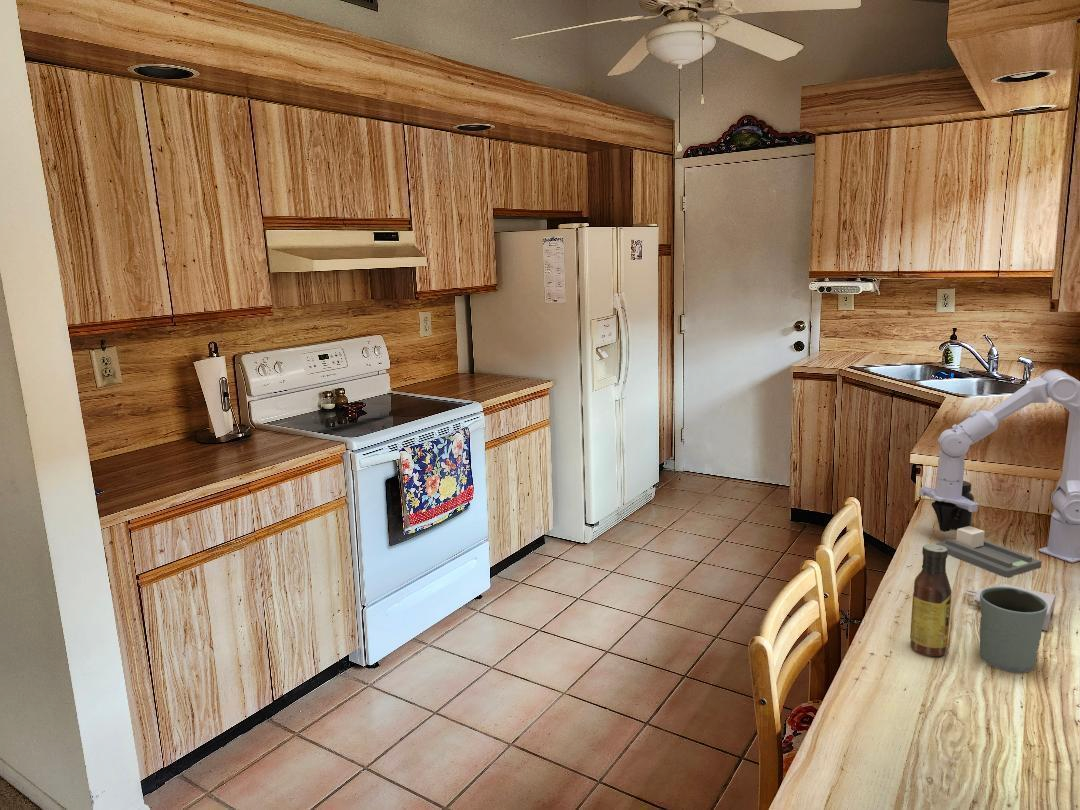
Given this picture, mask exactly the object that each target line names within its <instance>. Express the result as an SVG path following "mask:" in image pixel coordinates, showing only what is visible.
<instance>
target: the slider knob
mask: <svg viewBox="0 0 1080 810" xmlns="http://www.w3.org/2000/svg"><path fill="white" fill-rule="evenodd" d="M985 534H986V531H985V530H982V529H980V528H976V527H974V526H972V525H971V526H967V527H963V528H959V529H957V530H956V537H955V538H956V542H959V543H961V544H964V545H967V546H969V547H972V548H976V547H980V546H983V545H984V540H985Z"/></svg>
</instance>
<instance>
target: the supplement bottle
mask: <svg viewBox="0 0 1080 810" xmlns="http://www.w3.org/2000/svg"><path fill="white" fill-rule="evenodd" d="M971 491H972V483H971V482H969V481H966V480H963V486H962V495H961V496H963V497H965V498H967V499H969V500H971V501H973V502H975V496H974V494H973V493H971ZM973 514H974V512H969V511H968V510H967V509H964V508H962V509H961V511H960V512H959V513H958V514H957V516H956V518H955V519H954V521H953V524H952V526H951V529H950V530H955V531H957V529H959V528H963V527H967V526H971V527H972V523H973V522H972V521H973Z"/></svg>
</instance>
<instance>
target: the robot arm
mask: <svg viewBox="0 0 1080 810" xmlns="http://www.w3.org/2000/svg"><path fill="white" fill-rule="evenodd" d="M1048 398H1050V399H1051V400H1052V401H1054V402H1055V403H1058V404H1059V405H1062V406H1063V407H1064V408H1065V409H1066V410H1067V411H1068V412H1069V415H1068V422H1067V432H1066V439H1065V446H1064V447H1065V448H1064V456H1063V462H1062V463H1063V464H1062V470H1061V471H1062V472H1061V476H1060V478H1059V479H1058V480H1057V486H1056V488H1055V490H1053V492H1052V494H1051V496H1050V500H1051V504H1052V506H1053V507H1055V508H1054V509H1053V511H1052V513H1051V515H1050V524H1049V525H1050V526H1049V533H1048V540H1047V546H1045V547H1044V546H1043V547H1041V548H1039V549H1038V552H1040V553H1043V554H1046V555H1048V556H1052V557H1054V558H1058V559H1060V560H1063V561H1065V562H1068V563H1073V564H1074V563H1076V562H1079V561H1080V380H1078V379H1076V378H1075V377H1073V376H1071V375H1070V374H1068V373H1067V372H1065V371H1063V370H1060V369H1049V370H1047V371H1045V372H1043V373H1042V374H1041V375H1040V376H1039V375H1038V376H1037V377H1035V378H1032V379H1031V380H1029V382H1028V383H1026V384H1025V385H1024V386H1022V387H1021V388H1019V389H1018V390H1016V391H1015V392H1014V393H1012V394H1011V395H1009V396H1008V397H1006V398H1005V399H1003V400H1002V401H1001V402H1000V403H998V404H997V405H995V406H994V407H992V408H991V409H990V410H984V409H980V410H978V411H976V410H973V411H972V412H970V413H969V415H970V416H969V417H967V418H966V419H965V420H963V421H961V422H960V423H958V424H956V423H955V424H953V425H952V426H951V427H952V428H949V429H945V430H943V432H942V433H941V434H940V435H939V437H938V438H937V443H938V445H939V447H940V449H939V453H938V455H939V456H938V460H937V469H936V482H935V488H932V487H928V486H923V487H919V496H921V497H922V496H923V497H924V496H925V497H928V498H931V499H933V500H934V502H931V507H932V509H933V511H934V512H935V515H936V518H937V522H938V528H939V531H940V532H943V533H946V532H949V531H951V530H952V529H951V526H952V524H953V521H954V519H955V518H956V516H957V514H958V513H959V512H960V511H961V509H962V508H964V509H967V510H968V511H969V512H973V513H974V512H978V508H979V503H977V502H975V501H974V502H973V501H971V500H969V499H967V498H965V497H963V496H961V495H962V486H963V481H964V473H965V465H966V464H965V463H966V461H965V456H966V454H967V453H968V452H969V449H970V447H971V446H973V445H974V444H975V443H979V441H981V440H982V439H984V438H986V437H987V436H989V435H991V434H992V433H994V432H996V431H997V430H998V427H999V422H1001V421H1003V420H1005V419H1006V418H1008V417H1010V416H1012V415H1014V414H1015V413H1017V412H1018V411H1020V410H1022V409H1023V408H1025V407H1027V406H1029V405H1031V404H1049V403H1050V402H1049V399H1048Z"/></svg>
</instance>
